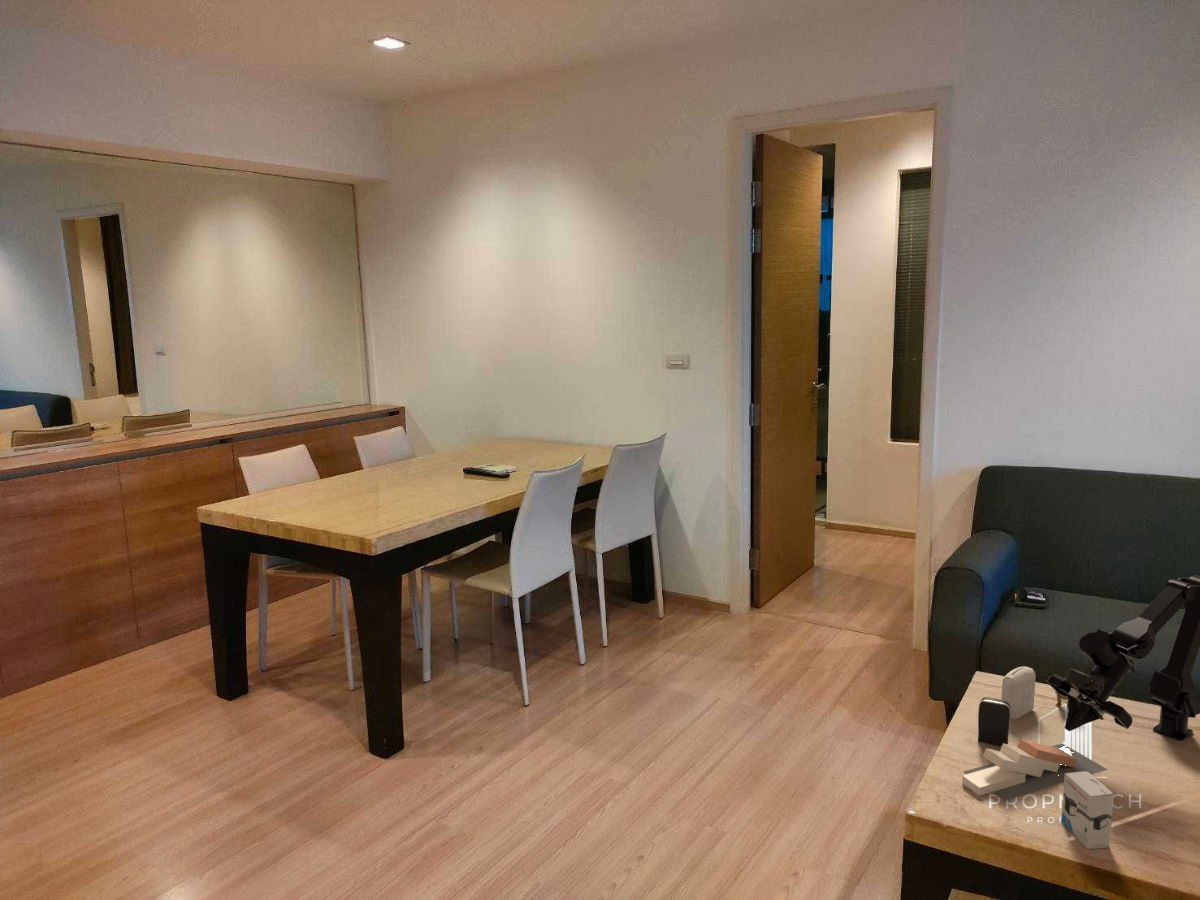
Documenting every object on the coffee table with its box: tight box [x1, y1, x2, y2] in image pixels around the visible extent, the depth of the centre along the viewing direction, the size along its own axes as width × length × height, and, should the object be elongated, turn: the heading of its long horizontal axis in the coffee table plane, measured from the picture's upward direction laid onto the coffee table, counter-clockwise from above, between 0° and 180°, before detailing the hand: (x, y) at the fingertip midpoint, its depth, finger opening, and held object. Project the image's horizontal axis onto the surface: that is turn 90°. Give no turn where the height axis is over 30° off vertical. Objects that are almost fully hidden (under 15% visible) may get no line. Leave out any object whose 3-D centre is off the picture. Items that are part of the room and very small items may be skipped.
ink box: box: [1061, 771, 1114, 850], centre depth 167 cm, size 8×5×12 cm, turn 5°
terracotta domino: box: [1016, 738, 1077, 767], centre depth 190 cm, size 2×5×13 cm
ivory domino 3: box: [999, 744, 1060, 772], centre depth 188 cm, size 2×5×13 cm
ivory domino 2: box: [982, 748, 1044, 777], centre depth 187 cm, size 2×5×13 cm
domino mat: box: [963, 742, 1108, 802], centre depth 190 cm, size 30×12×1 cm, turn 110°
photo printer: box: [1000, 666, 1037, 720], centre depth 215 cm, size 10×4×12 cm, turn 123°
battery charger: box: [977, 696, 1011, 747], centre depth 201 cm, size 7×4×11 cm, turn 60°
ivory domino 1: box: [961, 766, 1026, 797], centre depth 186 cm, size 2×5×13 cm
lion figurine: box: [1054, 677, 1084, 710], centre depth 219 cm, size 15×5×9 cm, turn 141°
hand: (1067, 729), depth 191 cm, fingers closed
